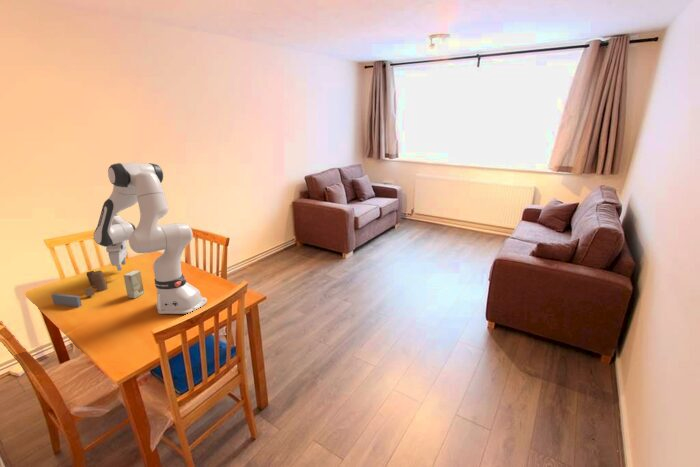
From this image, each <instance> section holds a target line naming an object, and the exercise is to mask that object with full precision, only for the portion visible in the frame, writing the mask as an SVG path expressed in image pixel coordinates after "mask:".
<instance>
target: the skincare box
mask: <svg viewBox="0 0 700 467" xmlns="http://www.w3.org/2000/svg"><path fill="white" fill-rule="evenodd" d="M123 279H124V285H125V289H126V290H125V291H126V295H127V298H129V299H137V298H138V297H139V296H140V297H141V296H142V295H144V294H145V289H144V284H143V279H142V272H141V271H140V270H132V271H129V272H126V273H125V274H123Z"/></svg>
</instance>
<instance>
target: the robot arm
mask: <svg viewBox="0 0 700 467" xmlns="http://www.w3.org/2000/svg"><path fill="white" fill-rule="evenodd" d="M107 176H108V180H109V182H110V183H111V184H112V185H113V189H112V192H111V194H110V195H109V197H108V198H107V199H106V200H105V201H104V202H103V205H102V207H101V212H100V216H99V219H98V223H97V226H96V228H95V229H94V232H93V240H94V242H95V243H96V244H97V245H99V246H102V247H104V248H105V247H106V248H105V250H106V253H107V254H108V257H109V258H108V259H109V262H110V264H111V265H112V266H113V267H114V266H115V267H116V270H117V271H118V272H122V270H123V268H122V266H123V265H126V264H127V262H126V258H127V257H126V256H127V254H128V247H127V246H128V245H129V247H130V249H131V250H132V251H133V252H134V253H136V254H150V253H156V252H159V251H163V252H162V254H161V255H160V256H159V257H156V259H155V260H154V262H153V265H152V267H153V268H152V269H153V273H154V285H155V288H156V294H157V295H156V298H157V299H156V306H155V307H156V309H157V313H158V314H161V315H163V314H164V315H165V314H168V315H169V314H170V315H172V314H174V315H175V314H177V315H178V314H179V315H180V314H181V315H182V314H183V315H185V314H187V313H189V314H191V313H190V312H192V311H194V310H196V309H198V308H200V307H201V308H203V307H204V306H205V305H206V303H207V302H208V299H207V297H204V296H202V294H201V292H200V290H199V289H198V288H196V287H195V286H193V285H192V284H191V283H188V282H187V280H188V276H186V277H185V276H184V274H183V273H182V268H181V267H182V265H181V262H182V261H181V259H182V254H183V252H184V250H185V248H186V247H187V246H188V245H189V244H190V243H191V241H192V240H193V237H194V233H193V230H192V228H191V226H190V225H189V224H188V223H186V222H185V223H184V222H183V223H182V222H177V223H167V224H162V225H159V223H158V222H159V220H161V219H162V218H163V217H164V216H166V215H167V214H168V212H169V206H168V202H167V198H166V195H165V191H164V188H163V186H162V182H163V180H164V173H163V170H162V168H161V166H159V165H158V164H155V163H145V162H143V163H142V162H123V163H121V162H118V163H113V164H110V166H109V167H108V169H107ZM136 204H138V209H139V214H140V217H139V222H138V225H137V226H135V224H133V223H132V222H129V221H126V220H124V219H123V218H122V216H121V215H120V214H118V213H120V212H122V211H124V210H126V209H128V208H131V207H133V206H134V205H136ZM127 241H128V243H127ZM201 308H200V309H201ZM198 310H199V309H198ZM192 313H193V312H192Z"/></svg>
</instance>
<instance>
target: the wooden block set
mask: <svg viewBox="0 0 700 467" xmlns="http://www.w3.org/2000/svg"><path fill="white" fill-rule="evenodd" d="M86 276H87V279H88V282H89V285H93V286H88V287H85V288H84V289H83V290H84V292H85V296H86V297H87V298H88V297H90V296H94V295H95V291H94V289H96V290H97V292H104V291H107V290H108V285H107V282H106V279H105V276H104V273H103V271H102V270H97V271H94V270H90V271H87V272H86Z"/></svg>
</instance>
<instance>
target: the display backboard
mask: <svg viewBox="0 0 700 467" xmlns="http://www.w3.org/2000/svg"><path fill="white" fill-rule="evenodd" d="M51 298H52V302H53V305H58V306H66V307H75V308H79V307H82V306H83V305H82V301H81V300H82V299H81V295H74V294H73V295H72V294H66V293H64V294H63V293H55V292H54V293H52V294H51Z"/></svg>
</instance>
